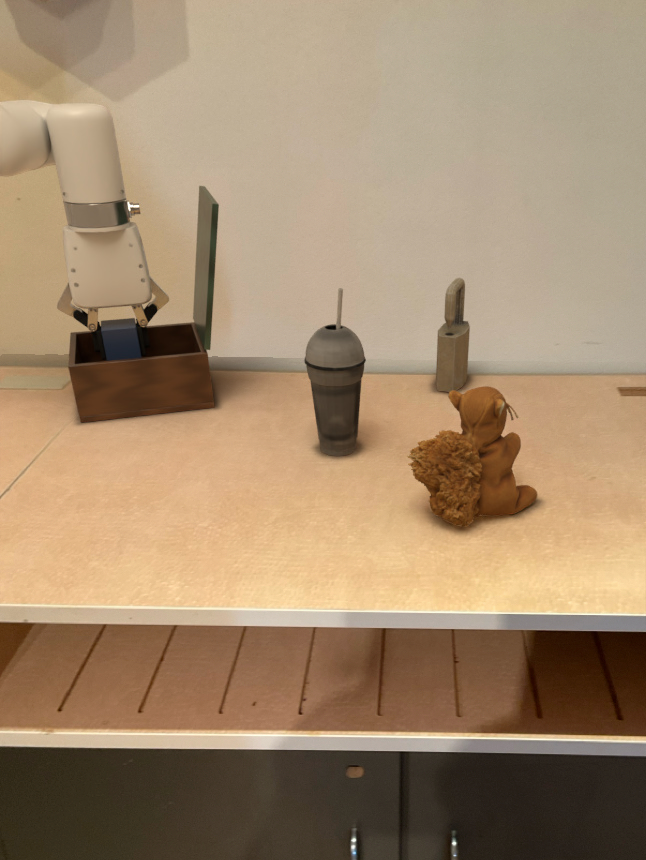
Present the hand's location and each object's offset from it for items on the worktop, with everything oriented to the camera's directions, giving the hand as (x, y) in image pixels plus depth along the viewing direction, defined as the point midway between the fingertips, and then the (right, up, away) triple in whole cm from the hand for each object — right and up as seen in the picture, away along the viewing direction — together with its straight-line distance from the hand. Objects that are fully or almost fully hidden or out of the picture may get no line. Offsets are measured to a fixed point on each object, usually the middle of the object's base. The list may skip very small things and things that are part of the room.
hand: (123, 353), depth 110 cm
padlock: (+46, -2, +10) cm, 47 cm away
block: (0, 0, 0) cm, 0 cm away
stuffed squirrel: (+46, -23, -22) cm, 56 cm away
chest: (+2, -5, +4) cm, 7 cm away
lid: (+12, +11, -3) cm, 16 cm away
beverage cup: (+31, -14, -10) cm, 35 cm away
